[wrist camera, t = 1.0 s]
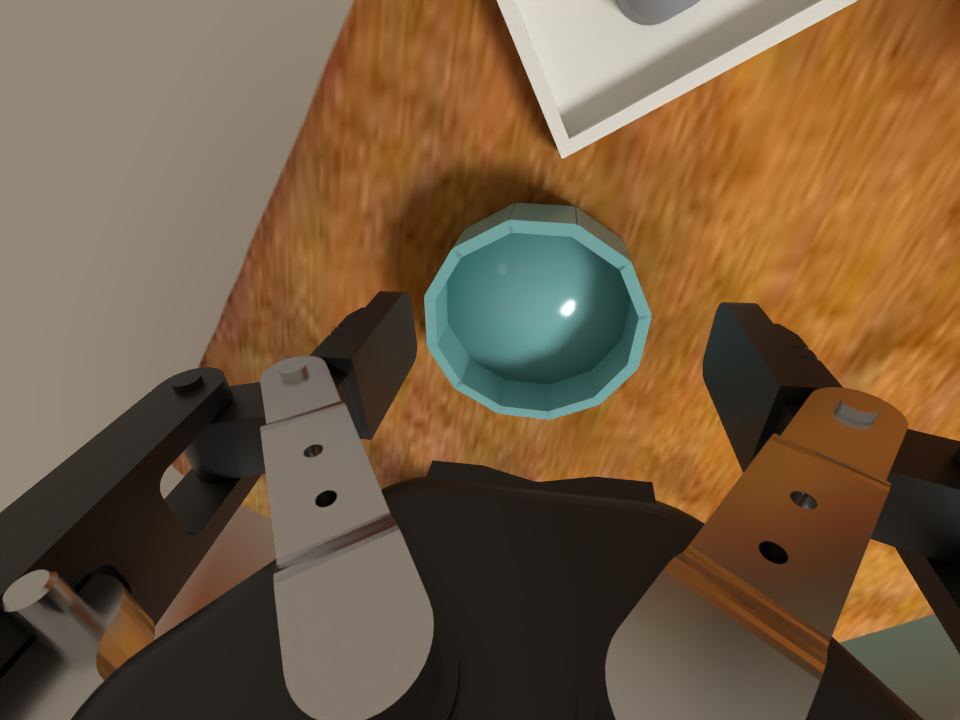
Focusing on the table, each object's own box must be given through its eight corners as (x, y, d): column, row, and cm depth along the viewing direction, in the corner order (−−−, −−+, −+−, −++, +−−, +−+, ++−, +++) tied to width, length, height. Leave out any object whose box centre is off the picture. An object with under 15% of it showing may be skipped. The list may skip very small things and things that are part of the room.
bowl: (593, 162, 29) (597, 174, 25) (664, 349, 35) (676, 381, 32) (403, 260, 35) (384, 282, 31) (494, 405, 41) (487, 438, 37)
